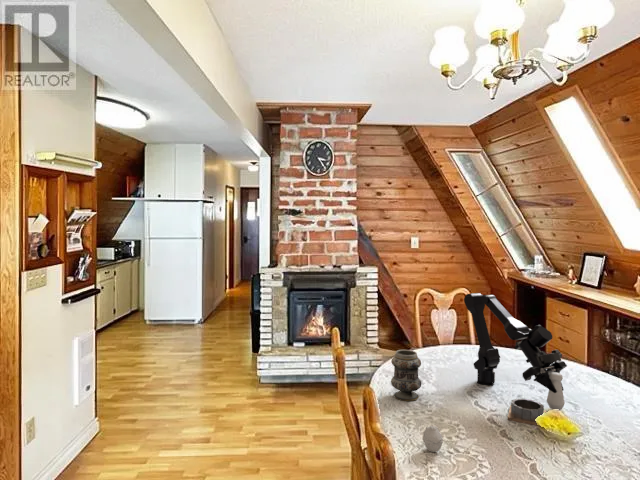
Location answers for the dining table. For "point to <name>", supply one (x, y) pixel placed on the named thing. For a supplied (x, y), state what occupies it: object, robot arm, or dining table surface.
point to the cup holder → (525, 411)
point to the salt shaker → (556, 398)
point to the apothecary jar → (406, 375)
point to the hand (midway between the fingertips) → (559, 391)
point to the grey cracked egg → (432, 439)
